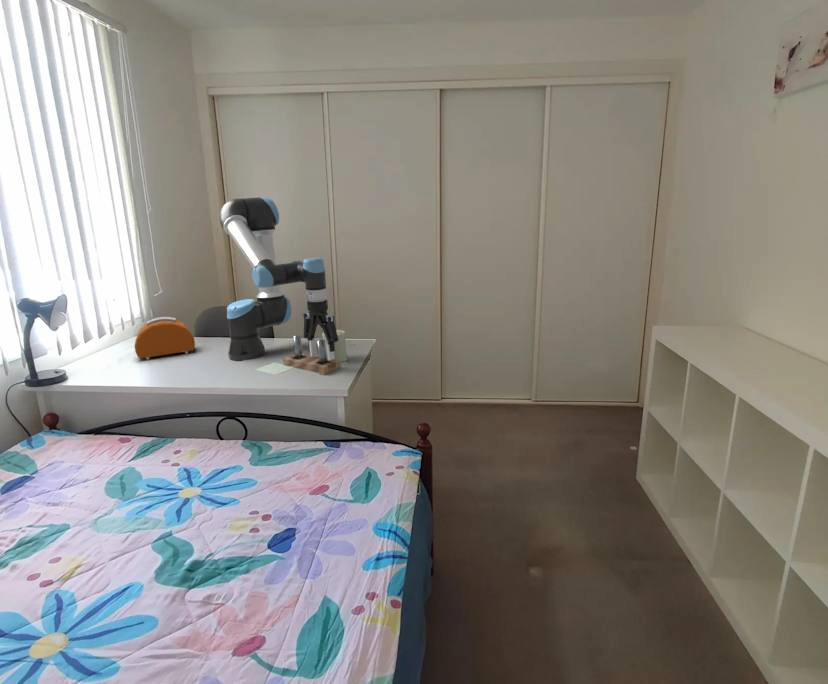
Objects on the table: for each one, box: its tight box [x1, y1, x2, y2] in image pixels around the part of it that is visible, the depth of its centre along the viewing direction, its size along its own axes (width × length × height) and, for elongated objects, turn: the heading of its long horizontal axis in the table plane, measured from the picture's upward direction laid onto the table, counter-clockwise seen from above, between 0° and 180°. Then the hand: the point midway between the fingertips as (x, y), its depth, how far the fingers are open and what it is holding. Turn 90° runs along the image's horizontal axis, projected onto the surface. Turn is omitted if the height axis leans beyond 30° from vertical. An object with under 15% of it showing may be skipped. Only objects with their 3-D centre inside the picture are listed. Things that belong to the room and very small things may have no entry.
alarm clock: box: [134, 316, 196, 361], centre depth 226 cm, size 23×9×17 cm, turn 115°
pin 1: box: [292, 334, 304, 360], centre depth 206 cm, size 3×3×12 cm
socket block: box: [282, 353, 341, 376], centre depth 204 cm, size 22×9×3 cm, turn 56°
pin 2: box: [316, 338, 327, 365], centre depth 199 cm, size 3×3×12 cm
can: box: [321, 329, 348, 363], centre depth 210 cm, size 9×9×12 cm
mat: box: [254, 362, 295, 376], centre depth 203 cm, size 12×10×1 cm
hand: (322, 357), depth 200 cm, fingers open, 8 cm apart
